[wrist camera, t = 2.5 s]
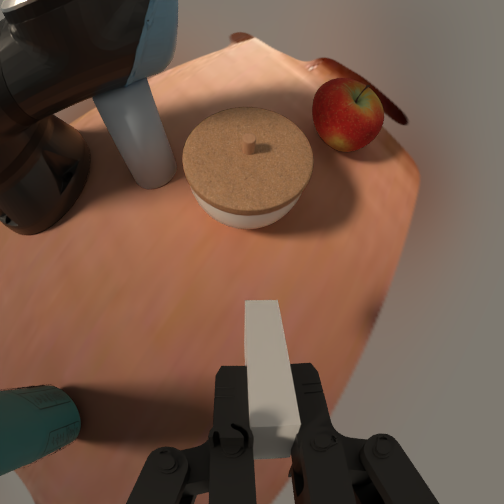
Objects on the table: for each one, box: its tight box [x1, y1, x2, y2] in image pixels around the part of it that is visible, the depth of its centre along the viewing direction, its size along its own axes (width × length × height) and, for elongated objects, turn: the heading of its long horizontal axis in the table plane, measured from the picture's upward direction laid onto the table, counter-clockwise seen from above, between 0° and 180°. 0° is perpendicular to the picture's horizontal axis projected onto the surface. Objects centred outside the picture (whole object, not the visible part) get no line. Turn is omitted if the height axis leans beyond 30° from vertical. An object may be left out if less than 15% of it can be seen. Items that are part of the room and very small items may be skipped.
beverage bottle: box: [0, 384, 81, 476], centre depth 12 cm, size 6×7×20 cm
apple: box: [312, 78, 384, 152], centre depth 29 cm, size 8×8×10 cm
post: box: [93, 78, 177, 189], centre depth 25 cm, size 5×5×12 cm
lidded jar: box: [182, 107, 314, 229], centre depth 26 cm, size 11×11×9 cm
